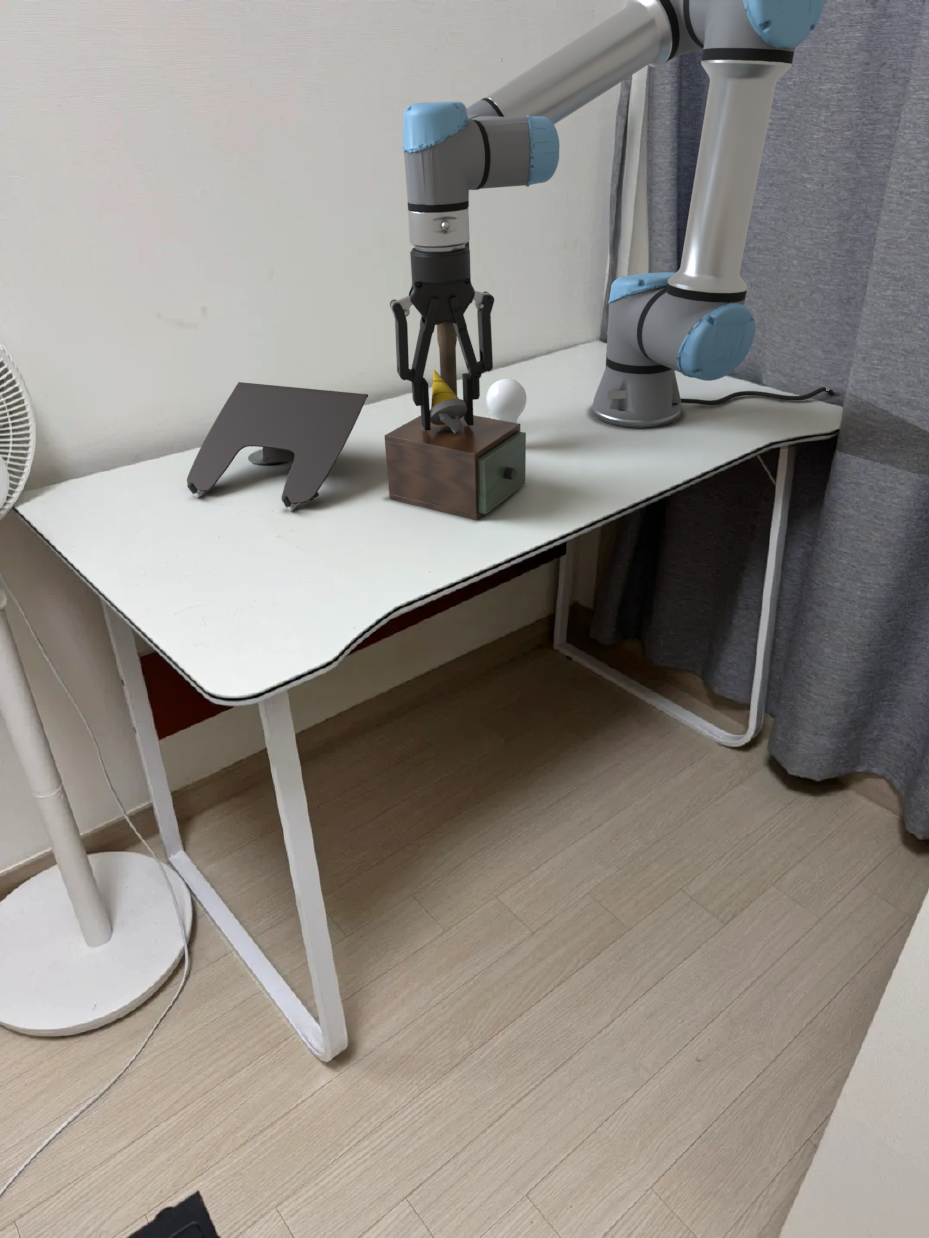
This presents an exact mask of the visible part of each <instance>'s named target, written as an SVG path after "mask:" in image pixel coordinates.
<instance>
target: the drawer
mask: <svg viewBox="0 0 929 1238" xmlns="http://www.w3.org/2000/svg"><path fill="white" fill-rule="evenodd" d="M526 455H527V432H524V431H521V430H520V431H518V432H517V433H515V434H514V435H512V436H511V437H509V438H506V439H505V440H503V441H502V442H500V443H499V444H497V445H496V446H494V447H493V448H491V449H490V450H488V451H487V452H485V453H484V454H482V455H481V456H479V457H478V502H479V513H483V514H484V515H487V514H489V513H490V512H491V511H492V510H494V509H495V508H496V507H498V506H499V505H500V504H501V503H502V502H504V501H505V500H506V499H508V498H509V497H511V496H512V495H513V494H514V493H515V492H516V491H518V490H519V489H521V488H522V487H523V486H525V485H526V466H527V465H526V464H527V463H526V461H527V459H526V457H527V456H526Z"/></svg>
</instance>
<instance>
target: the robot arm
mask: <svg viewBox="0 0 929 1238" xmlns="http://www.w3.org/2000/svg"><path fill="white" fill-rule="evenodd" d="M825 3H826V2H825V0H627V1H626V5H625V7H624V8H623V9H621V10H619V11H618V12H616V13H615V14H613V15H611V16H610V17H608V18H607V19H605V20H604V21H602V22H600V23H598V24H597V25H595V26H594V27H592V28H591V29H589V30H588V31H586V32H585V33H583V34H581V35H580V36H579V37H577V38H575V39H573V40H572V41H570V42H569V43H567V44H566V45H564V46H563V47H561V48H559V49H558V50H556V51H555V52H554V53H552V54H549V56H547V57H545V58H544V59H542V60H540V61H539V62H537V63H536V64H534V65H533V66H531V67H530V68H528V69H526V70H525V71H523V72H521V73H520V74H518V75H516V76H515V77H514V78H512V79H511V80H509V81H507V82H505V84H503V85H501V86H500V87H498V88H497V89H495V90H494V91H492V92H490V93H489V94H487V95H486V96H484V97H483V98H481V99H479V100H478V101H475V102H474V103H472V104H471V105H469V106H468V107H466V105H465V103H463V102H462V101H429V102H428V101H427V102H426V101H425V102H415V103H411V104H409V105H407V107H406V108H405V109H404V112H403V119H402V120H403V121H402V123H403V124H402V153H403V157H404V160H403V161H404V172H405V184H406V185H405V186H406V196H407V197H406V198H407V219H408V239H409V241H408V242H409V243H410V245H411V246H413V248H412V249H411V250H410V252H409V256H410V257H409V258H410V274H411V287H410V289H409V292H408V295H406V296H405V297H402V298H400V299H398V300H397V299H394V298H393V299H391V300H390V301H389V307H390V310H391V312H392V315H393V318H394V326H395V327H394V328H395V329H394V330H395V332H394V333H395V351H396V353H395V355H396V356H395V357H396V372H397V373H396V374H397V375H398V376H399V377H400V379H401V380H402V381H409V382H411V395H412V401H413V403H414V405H415V406H416V407H420V416H421V423H422V426H423V427H424V429H425V431H427V430H431V426H430V409H431V406H430V391H429V389H430V388H429V382H428V380H427V379H426V378H425V377H424V375H425V370H426V366H427V362H428V355H429V352H430V346H431V343H432V338H433V334H434V332H435V330H436V329H435V327H436V326H437V325H439V324H442V323H444V322H445V323H453V325H454V328H455V331H456V334H457V341H458V345H459V347H460V350H461V354H462V356H463V360H464V363H465V367H466V370H467V372H465V373H462V374H461V376H462V379H461V380H462V400H464V401H465V403H466V406H467V413H466V414H465V415H464V420H465V422H466V423H467V425H468V426H471V425H474V423H473V415H474V400H479V399H480V396H481V391H480V390H481V385H480V384H481V383H480V379H481V377H482V375H483V374H484V373H485V372H491V371H492V370H493V368H494V362H493V361H494V360H493V337H492V316H491V315H492V311H493V307H494V305H495V304H494V303H495V297H494V296H493V295H492V294H491V293H489V291H485V290H484V291H483V292H482V291H480V290H479V291H478V290H475V288H474V286H473V285H472V284H473V283H472V280H471V278H472V277H471V249H470V248H469V249H468V247H467V246H465V244H466V243H467V242H468V241H469V242H470V238H471V237H470V213H469V207H470V191H478V190H483V189H497V188H509V187H511V188H512V187H522V186H523V187H524V186H525V187H530V186H531V185H537V184H543V183H547V182H548V181H550V180H551V179H552V178H553V177H554V175H555V173H556V171H557V169H558V166H559V161H560V145H561V144H560V138H559V134H558V130H557V128H556V126H555V125H556V124H557V123H559V122H561V121H562V120H564V119H566V118H567V117H569V116H570V115H572V114H573V113H575V112H576V111H578V110H579V109H581V108H583V107H585V105H588V104H589V103H591V102H593V100H595V99H597V98H598V97H600V96H601V95H604V93H606V92H608V91H610V90H611V89H613V88H614V87H615V86H617V85H620V83H622V82H623V81H626V79H628V78H630V77H632V76H633V75H635V74H636V73H638V72H640V71H641V70H642V69H644V68H645V67H648V66H650V67H653V68H658V67H661V66H663V65H664V64H666V63H667V62H669V61H671V60H673V59H675V58H677V57H679V56H683V55H686V54H690V53H696V52H702V55H701V62H700V65H701V67H702V68H703V69H704V71H705V73H706V74H707V75H708V78H709V85H708V92H707V97H706V103H705V104H706V105H705V110H704V115H703V116H704V117H703V121H702V122H703V123H702V129H701V136H700V142H699V147H698V154H697V161H696V166H695V173H694V179H693V186H692V192H691V199H690V204H689V211H688V217H687V223H686V229H685V230H686V231H685V236H684V243H683V249H682V254H681V262H680V267H679V269H678V270H677V271H676V272H673V271H672V272H670V271H668V272H667V271H662V272H661V271H659V272H647V273H646V272H645V273H636V274H628V275H624V276H620V277H617V278H616V279H614V281H613V282H612V284H611V287H610V292H609V299H608V301H607V304H608V316H607V334H606V352H605V368H604V371H603V373H602V376H601V379H600V381H599V384H598V386H597V389H596V392H595V394H594V396H593V401H592V410H591V411H592V412H591V413H592V415H593V416H594V417H595V418H596V419H597V420H599V421H601V422H604V423H606V424H610V425H613V426H617V427H624V428H635V429H636V428H639V429H641V428H656V427H661V426H666V425H670V424H672V423H674V422H676V421H677V420H679V419H680V417H681V415H682V404H690V405H691V404H693V405H701V406H702V405H704V406H715V405H716V406H717V405H720V404H723V403H726V402H728V401H730V400H732V399H735V398H737V397H747V396H748V397H753V396H754V397H762V398H769V399H774V400H781V401H793V402H794V401H795V402H796V401H798V402H799V401H804V400H808V399H811V398H813V397H815V396H817V395H819V394H821V393H824V392H825V393H827V394H828V395H830V396H835V395H836V393H835V391H834V390H833V389H832V388H830V389H831V390H829V391H826V388H825V387H826V386H821V387H818V388H817V389H814V390H813V391H811V392H808V393H806V394H803V395H787V394H779V393H772V392H766V391H759V390H758V391H757V390H741V391H737V392H732V393H730V394H727V395H725V396H724V397H721V398H718V399H711V400H709V399H698V398H682V397H681V393H680V389H679V385H678V380H677V376H676V372H678V373H681V374H682V375H683V376H684V377H688V378H691V379H692V378H693V379H694V378H695V379H698V380H700V381H706V382H707V381H708V382H711V381H717V380H720V379H722V378H724V377H726V376H728V375H730V374H731V373H732V372H733V371H735V369H736V367H738V366H740V365H741V364H742V363H743V361H744V360H745V359H746V357H747V356H748V354H749V352H750V350H751V349H752V346H753V343H754V340H755V336H756V327H757V326H756V319H755V318H754V317H753V313H752V311H751V310H750V309H749V308H748V306H747V305H745V302H746V298H747V297H746V296H747V292H748V285H747V283H746V282H745V280H744V279H743V278H742V276H741V268H742V263H743V257H744V250H745V247H746V241H747V236H748V231H749V226H750V221H751V216H752V211H753V205H754V200H755V196H756V195H755V194H756V190H757V184H758V179H759V174H760V169H761V163H762V159H763V153H764V148H765V144H766V143H765V142H766V138H767V132H768V127H769V123H770V117H771V112H772V111H771V110H772V107H773V101H774V96H775V91H776V85H777V82H778V81H779V80H780V79H781V78H782V77H783V76H784V75H785V74H786V73H787V72H788V71H789V70H790V69H792V66H793V60H794V56H795V51H796V48H797V47H798V46H800V45H801V44H802V43H804V42H805V41H806V40H808V39H809V37H810V36H811V32H812V31H813V30H815V29H816V27H817V26H818V24H819V22H820V19H821V17H822V14H823V12H824V11H823V10H824V6H825ZM472 300H473V302H474V307H475V308H476V309H477V310H476V311H477V313H476V316H477V333H478V337H477V338H478V352H479V353H478V354H479V361H478V360H477V357H476V353H475V349H474V347H473V343H472V341H471V337H470V333H469V330H468V325H467V322H466V318H465V315H464V314H465V313H466V311H467V310H468V308H469V306H470V305H471V304H472V303H471V301H472ZM470 303H471V304H470ZM412 306H413V307H414V308H415V309H416V310H417V312H418V313H419V315H421V316H420V321H419V330H418V335H417V340H416V345H415V350H414V354H413V359H412V364H411V368H410V363H409V362H410V360H409V359H410V358H409V357H410V356H409V334H408V333H409V330H408V329H409V328H408V320H407V319H408V318H407V317H408V316H409V315H410V314H411V313H410V312H411V310H410V308H411V307H412Z"/></svg>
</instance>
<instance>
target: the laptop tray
mask: <svg viewBox="0 0 929 1238" xmlns="http://www.w3.org/2000/svg"><path fill="white" fill-rule="evenodd" d="M368 397H369V394H367V393H358V392H347V391H337V390H327V389H318V388H317V389H316V388H306V387H296V386H284V385H275V384H262V383H252V382H244V381H243V382H242V381H239V382H237V384H236V386H235V387H234V389H233V390H232V392H231V394H229V396H228V398H227V400H226V402H225V403H224V404H223V407H222V408H221V409H220V412H219V414H218V415H217V417H216V419H215V420H214V422H213V424H212V426H211V428H210V430H209V431H208V433H207V434H206V437H205V439H204V440H203V442H202V444H201V447H200V448H199V450H198V452H197V455H196V457H195V459H194V460H193V463H192V465H191V468H190V470H189V472H188V475H187V477H186V483H187V486H186V487H187V488H188V490H189V491H190V493H191V494H192V495H193V496H194V497H196V498H199V497H201V496H202V495H203V494H204V492H206V493H207V492H209V491H211V490H212V489H213V488H214V486H215V485H216V484H217V483H218V481H219V480H220V479H221V478H222V477H223V475H224V474H225V472H226V471H227V470H228V468H229V467H230V465H231V464H232V462H233V461H234V460H235V458H236V456H237V455H238V454H239V452H241V450H243V449H245V448H248V447H258V448H262V459H263V462H264V463H266V464H269V465H270V464H272V465H273V464H279V463H281V464H282V463H291V466H290V468H289V471H288V474H287V477H286V480H285V484H284V487H283V491H282V493H281V498H280V499H281V502H282V503H283V504H284V506H285V508H286V509H287V510H288V511H294V510H295V509H296V507H297V505H299V504H305V503H308V502H309V501H310V502H313V501H314V500H315V499H316V498H319V497H320V493H319V490H320V488H321V487H322V486H323V484H324V483H325V481H326V480H327V478H328V476H329V474H330V473H331V471H332V469H333V468H334V465H335V464H336V462H337V461H338V458H339V457H340V454H341V453H342V451H343V449H344V447H345V445H346V443H347V441H348V439H349V437H350V435H351V433H352V431H353V429H354V427H355V425H356V424H357V421H358V418H359V416H360V414H361V412H362V409H363V408H364V405H365V403H366V401H367V399H368Z"/></svg>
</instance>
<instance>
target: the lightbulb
mask: <svg viewBox="0 0 929 1238" xmlns="http://www.w3.org/2000/svg"><path fill="white" fill-rule="evenodd" d="M485 396H486V397H485V402H486V403H485V404H486V407H487V409H488V411H489V413H490V414H491V415H492V417H493V419H497V420H502V421H508V422H513V423H518V420H519V418H520V417H521V415H522V414H523V412H524V410H525V408H526V405H527V393H526V389H525V388H524V387H523V384H521V383H520V382H519V381H518V380H516V379H512V378H505V377H504V378H500V379H498V380H496V381H495V382H493V383H492V384H491V385H490V386H489V388H488V390H487V392H486V394H485Z"/></svg>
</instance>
